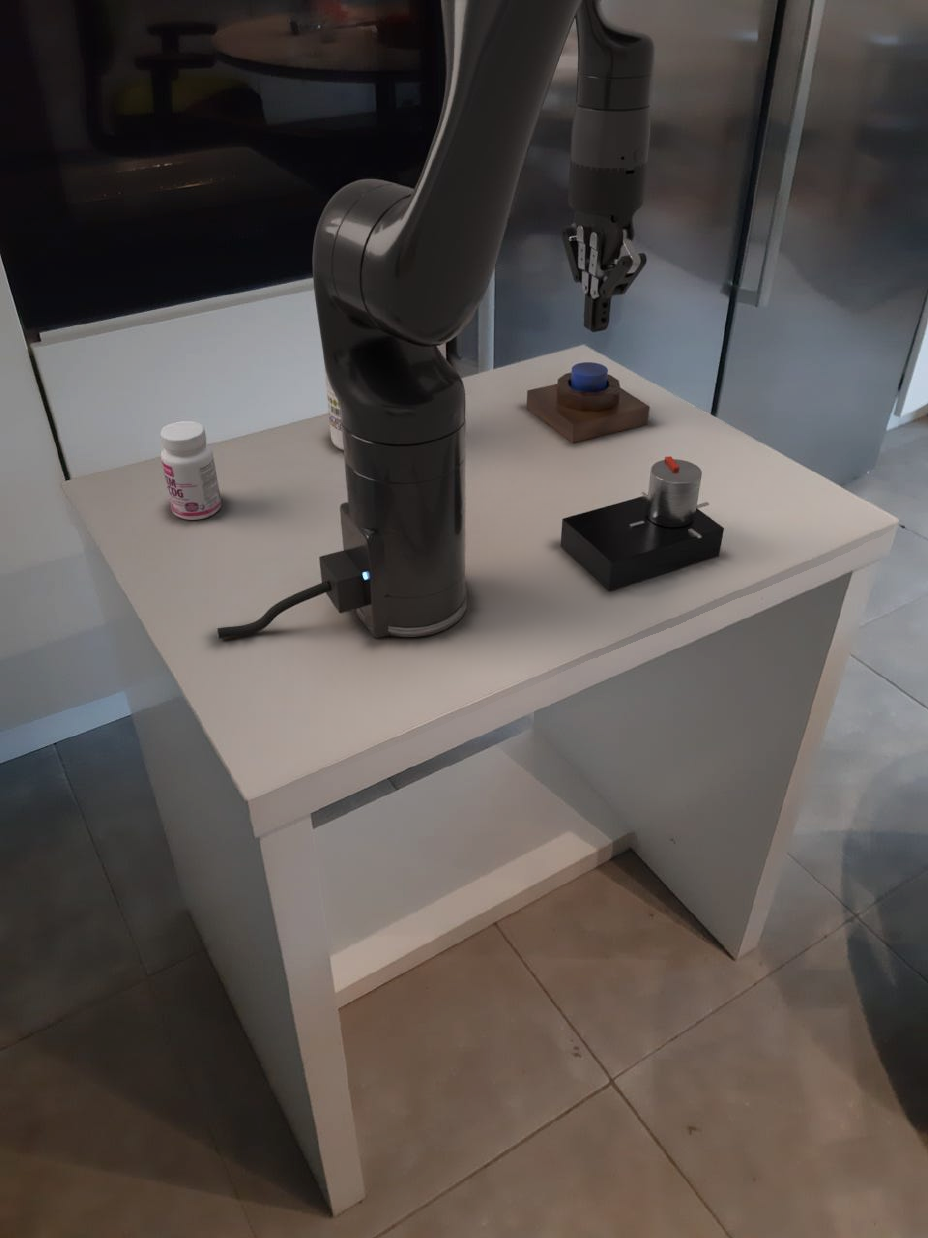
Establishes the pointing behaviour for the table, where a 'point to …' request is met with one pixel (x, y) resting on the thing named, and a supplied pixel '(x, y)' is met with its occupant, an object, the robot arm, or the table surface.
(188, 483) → the pill bottle
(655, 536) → the panel
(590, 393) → the button block
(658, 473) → the knob
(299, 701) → the table surface
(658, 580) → the table surface
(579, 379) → the button
